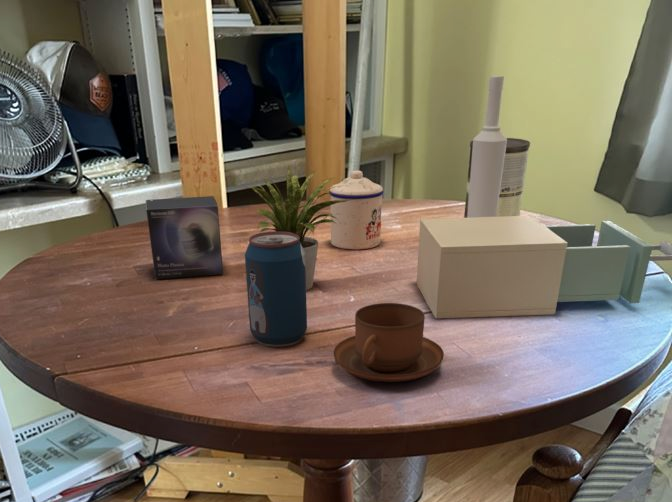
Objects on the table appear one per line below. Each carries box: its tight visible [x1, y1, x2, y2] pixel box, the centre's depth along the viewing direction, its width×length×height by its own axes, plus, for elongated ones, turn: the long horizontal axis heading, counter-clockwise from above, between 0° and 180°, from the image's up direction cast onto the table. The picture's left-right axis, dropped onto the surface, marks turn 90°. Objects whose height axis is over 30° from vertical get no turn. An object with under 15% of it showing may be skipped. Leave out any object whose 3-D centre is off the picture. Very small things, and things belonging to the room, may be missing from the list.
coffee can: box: [463, 137, 531, 218], centre depth 127 cm, size 10×10×14 cm
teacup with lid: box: [328, 170, 384, 250], centre depth 120 cm, size 12×9×12 cm
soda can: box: [244, 231, 308, 348], centre depth 82 cm, size 7×7×12 cm
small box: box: [145, 195, 224, 280], centre depth 107 cm, size 11×6×10 cm, turn 102°
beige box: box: [415, 215, 567, 320], centre depth 94 cm, size 16×15×9 cm
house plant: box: [246, 165, 351, 291], centre depth 97 cm, size 14×14×16 cm
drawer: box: [544, 220, 672, 304], centre depth 94 cm, size 22×13×7 cm, turn 93°
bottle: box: [467, 75, 508, 218], centre depth 111 cm, size 5×5×25 cm
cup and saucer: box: [333, 302, 445, 383], centre depth 76 cm, size 12×12×6 cm
